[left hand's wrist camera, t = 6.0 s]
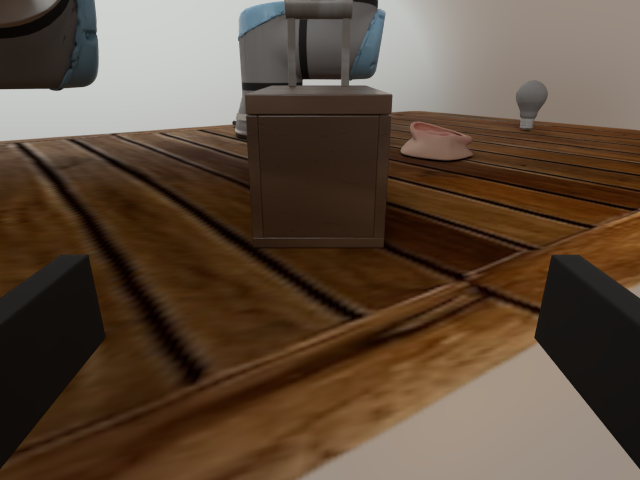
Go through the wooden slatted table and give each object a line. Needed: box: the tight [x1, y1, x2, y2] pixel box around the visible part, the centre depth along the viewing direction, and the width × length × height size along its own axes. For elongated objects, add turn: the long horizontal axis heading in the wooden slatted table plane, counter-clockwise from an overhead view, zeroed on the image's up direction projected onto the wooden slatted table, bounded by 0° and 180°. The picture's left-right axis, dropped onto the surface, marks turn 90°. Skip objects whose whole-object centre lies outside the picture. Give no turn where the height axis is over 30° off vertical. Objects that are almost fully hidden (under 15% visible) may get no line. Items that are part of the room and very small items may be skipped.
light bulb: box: [516, 81, 548, 130], centre depth 93 cm, size 6×6×10 cm
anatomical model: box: [401, 122, 473, 160], centre depth 68 cm, size 13×4×12 cm
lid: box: [245, 0, 392, 115], centre depth 35 cm, size 17×10×9 cm, turn 0°
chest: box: [246, 115, 391, 248], centre depth 38 cm, size 16×10×10 cm, turn 0°
